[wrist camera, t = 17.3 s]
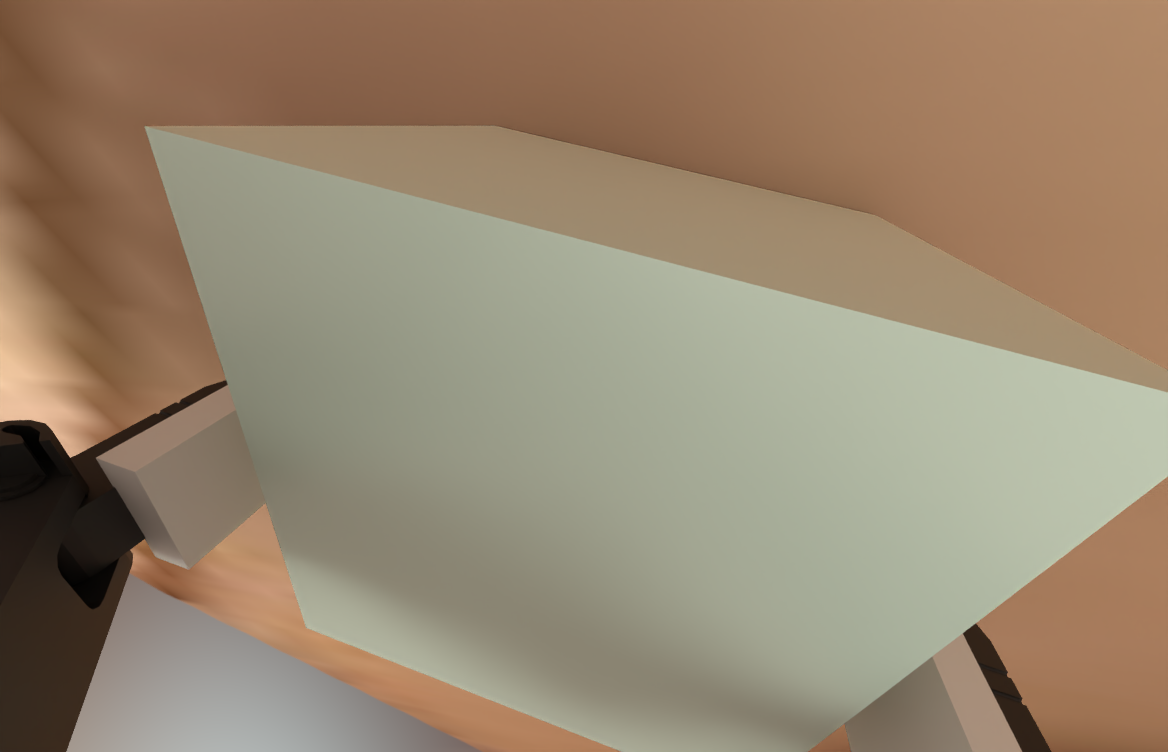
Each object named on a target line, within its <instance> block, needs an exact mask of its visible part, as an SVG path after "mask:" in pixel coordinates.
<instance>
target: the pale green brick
mask: <svg viewBox="0 0 1168 752" xmlns="http://www.w3.org/2000/svg"><path fill="white" fill-rule="evenodd" d="M144 127H145V130H146V133H147V136H148V139H149V142H150V145H151V148H152V151H153V154H154V158H155V161H156V164H157V167H158V170H159V173H160V176H161V179H162V182H163V185H164V189H165V192H166V195H167V198H168V201H169V204H170V207H171V210H172V213H173V216H174V220H175V223H176V226H177V229H178V232H179V235H180V238H181V241H182V244H183V247H184V251H185V254H186V257H187V260H188V263H189V266H190V269H191V272H192V275H193V278H194V282H195V285H196V288H197V291H198V294H199V297H200V300H201V303H202V306H203V309H204V313H205V316H206V319H207V322H208V325H209V328H210V331H211V334H212V337H213V340H214V344H215V347H216V350H217V353H218V356H219V359H220V362H221V365H222V368H223V371H224V375H225V378H226V381H227V384H228V387H229V390H230V393H231V396H232V399H233V402H234V406H235V409H236V412H237V415H238V418H239V421H240V424H241V427H242V430H243V433H244V437H245V440H246V443H247V446H248V449H249V452H250V455H251V458H252V461H253V464H254V468H255V471H256V474H257V477H258V480H259V483H260V486H261V489H262V492H263V495H264V499H265V502H266V505H267V508H268V511H269V514H270V517H271V520H272V523H273V526H274V530H275V533H276V536H277V539H278V542H279V545H280V548H281V551H282V554H283V557H284V561H285V564H286V567H287V570H288V573H289V576H290V579H291V582H292V585H293V588H294V592H295V595H296V598H297V601H298V604H299V607H300V610H301V613H302V616H303V619H304V623H305V626H306V628H308V629H311V630H313V631H316V632H318V633H321V634H323V635H326V636H328V637H331V638H333V639H336V640H339V641H341V642H344V643H346V644H349V645H351V646H354V647H356V648H359V649H361V650H364V651H367V652H369V653H372V654H374V655H377V656H379V657H382V658H384V659H387V660H390V661H392V662H395V663H397V664H400V665H402V666H405V667H407V668H410V669H412V670H415V671H418V672H420V673H423V674H425V675H428V676H430V677H433V678H435V679H438V680H440V681H443V682H446V683H448V684H451V685H453V686H456V687H458V688H461V689H463V690H466V691H469V692H471V693H474V694H476V695H479V696H481V697H484V698H486V699H489V700H491V701H494V702H497V703H499V704H502V705H504V706H507V707H509V708H512V709H514V710H517V711H519V712H522V713H525V714H527V715H530V716H532V717H535V718H537V719H540V720H542V721H545V722H548V723H550V724H553V725H555V726H558V727H560V728H563V729H565V730H568V731H570V732H573V733H576V734H578V735H581V736H583V737H586V738H588V739H591V740H593V741H596V742H598V743H601V744H604V745H606V746H609V747H611V748H614V749H616V750H619V751H621V752H808V751H809V750H811V749H812V748H813V747H815V746H816V745H817V744H818V743H820V742H821V741H822V740H824V739H825V738H826V737H828V736H829V735H830V734H832V733H833V732H834V731H835V730H837V729H838V728H839V727H841V726H842V725H843V724H845V723H846V722H847V721H849V720H850V719H851V718H852V717H854V716H855V715H856V714H858V713H859V712H860V711H862V710H863V709H864V708H866V707H867V706H868V705H869V704H871V703H872V702H873V701H875V700H876V699H877V698H879V697H880V696H881V695H883V694H884V693H885V692H886V691H888V690H889V689H890V688H892V687H893V686H894V685H896V684H897V683H898V682H900V681H901V680H902V679H903V678H905V677H906V676H907V675H909V674H910V673H911V672H913V671H914V670H915V669H917V668H918V667H919V666H920V665H922V664H923V663H924V662H926V661H927V660H928V659H930V658H931V657H932V656H934V655H935V654H936V653H937V652H939V651H940V650H941V649H943V648H944V647H945V646H947V645H948V644H949V643H951V642H952V641H953V640H954V639H956V638H957V637H958V636H960V635H961V634H962V633H964V632H965V631H966V630H968V629H969V628H970V627H971V626H973V625H974V624H975V623H977V622H978V621H979V620H981V619H982V618H983V617H985V616H986V615H987V614H988V613H990V612H991V611H992V610H994V609H995V608H996V607H998V606H999V605H1000V604H1002V603H1003V602H1004V601H1005V600H1007V599H1008V598H1009V597H1011V596H1012V595H1013V594H1015V593H1016V592H1017V591H1019V590H1020V589H1021V588H1022V587H1024V586H1025V585H1026V584H1028V583H1029V582H1030V581H1032V580H1033V579H1034V578H1036V577H1037V576H1038V575H1039V574H1041V573H1042V572H1043V571H1045V570H1046V569H1047V568H1049V567H1050V566H1051V565H1053V564H1054V563H1055V562H1056V561H1058V560H1059V559H1060V558H1062V557H1063V556H1064V555H1066V554H1067V553H1068V552H1070V551H1071V550H1072V549H1073V548H1075V547H1076V546H1077V545H1079V544H1080V543H1081V542H1083V541H1084V540H1085V539H1087V538H1088V537H1089V536H1090V535H1092V534H1093V533H1094V532H1096V531H1097V530H1098V529H1100V528H1101V527H1102V526H1104V525H1105V524H1106V523H1107V522H1109V521H1110V520H1111V519H1113V518H1114V517H1115V516H1117V515H1118V514H1119V513H1121V512H1122V511H1123V510H1124V509H1126V508H1127V507H1128V506H1130V505H1131V504H1132V503H1134V502H1135V501H1136V500H1138V499H1139V498H1140V497H1141V496H1143V495H1144V494H1145V493H1147V492H1148V491H1149V490H1151V489H1152V488H1153V487H1155V486H1156V485H1157V484H1159V483H1160V482H1161V481H1162V480H1164V479H1165V478H1166V477H1168V370H1166V369H1165V368H1163V367H1161V366H1159V365H1157V364H1155V363H1153V362H1151V361H1149V360H1148V359H1146V358H1144V357H1142V356H1140V355H1138V354H1136V353H1134V352H1133V351H1131V350H1129V349H1127V348H1125V347H1123V346H1121V345H1119V344H1117V343H1116V342H1114V341H1112V340H1110V339H1108V338H1106V337H1104V336H1102V335H1101V334H1099V333H1097V332H1095V331H1093V330H1091V329H1089V328H1087V327H1085V326H1084V325H1082V324H1080V323H1078V322H1076V321H1074V320H1072V319H1070V318H1068V317H1067V316H1065V315H1063V314H1061V313H1059V312H1057V311H1055V310H1053V309H1052V308H1050V307H1048V306H1046V305H1044V304H1042V303H1040V302H1038V301H1036V300H1035V299H1033V298H1031V297H1029V296H1027V295H1025V294H1023V293H1021V292H1020V291H1018V290H1016V289H1014V288H1012V287H1010V286H1008V285H1006V284H1004V283H1003V282H1001V281H999V280H997V279H995V278H993V277H991V276H989V275H988V274H986V273H984V272H982V271H980V270H978V269H976V268H974V267H972V266H971V265H969V264H967V263H965V262H963V261H961V260H959V259H957V258H955V257H954V256H952V255H950V254H948V253H946V252H944V251H942V250H940V249H939V248H937V247H935V246H933V245H931V244H929V243H927V242H925V241H923V240H922V239H920V238H918V237H916V236H914V235H912V234H910V233H908V232H907V231H905V230H903V229H901V228H899V227H897V226H895V225H893V224H891V223H890V222H888V221H886V220H884V219H882V218H880V217H878V216H876V215H873V214H869V213H865V212H860V211H856V210H852V209H848V208H843V207H839V206H835V205H831V204H826V203H822V202H818V201H814V200H809V199H805V198H801V197H797V196H792V195H788V194H784V193H780V192H775V191H771V190H767V189H763V188H758V187H754V186H750V185H746V184H741V183H737V182H733V181H729V180H724V179H720V178H716V177H712V176H707V175H703V174H699V173H695V172H690V171H686V170H682V169H678V168H673V167H669V166H665V165H661V164H656V163H652V162H648V161H644V160H639V159H635V158H631V157H627V156H622V155H618V154H614V153H610V152H605V151H601V150H597V149H593V148H588V147H584V146H580V145H576V144H571V143H567V142H563V141H559V140H554V139H550V138H546V137H542V136H537V135H533V134H529V133H525V132H520V131H516V130H512V129H508V128H503V127H499V126H144Z"/></svg>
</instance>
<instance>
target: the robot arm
mask: <svg viewBox="0 0 1168 752" xmlns="http://www.w3.org/2000/svg"><path fill="white" fill-rule="evenodd" d="M265 503H266V502H265V499H264V495H263V492H262V489H261V486H260V483H259V480H258V477H257V474H256V471H255V468H254V464H253V461H252V458H251V455H250V452H249V449H248V446H247V443H246V440H245V437H244V433H243V430H242V427H241V424H240V421H239V418H238V415H237V412H236V409H235V406H234V402H233V399H232V396H231V393H230V390H229V387H228V384H227V381H223V382H219V383H216V384H213V385H210V386H206V387H204V388H202V389H200V390H198V391H196V392H194V393H193V394H191V395H189V396H187V397H185V398H183V399H181V401H180V403H174V404H172V405H170V406H168V407H166V408H164V409H162V410H161V411H160V413H159V414H153V415H151V416H149V417H147V418H146V419H144V420H142V421H140V422H138V423H136V424H134V425H132V426H131V427H129V428H127V429H125V430H123V431H121V432H119V433H117V434H115V435H114V436H112V437H110V438H108V439H106V440H104V441H102V442H100V443H99V444H97V445H95V446H93V447H91V448H89V449H87V450H85V451H83V452H82V453H80V454H78V455H76V456H73V457H71V458H70V457H69V456H68V454H67V453H66V451H65V450H64V448H63V447H62V445H61V443H60V442H59V440H58V439H57V437H56V436H55V434H54V433H53V431H52V430H51V429H50V428H49V427H48V426H47V425H46V424H45V423H41V422H36V421H32V420H16V421H5V422H0V752H66V751H67V748H68V745H69V742H70V739H71V736H72V734H73V731H74V728H75V725H76V722H77V719H78V717H79V714H80V711H81V708H82V705H83V703H84V700H85V697H86V694H87V691H88V688H89V686H90V683H91V680H92V677H93V674H94V671H95V668H96V666H97V663H98V660H99V657H100V654H101V651H102V649H103V646H104V643H105V640H106V637H107V634H108V631H109V629H110V626H111V623H112V620H113V617H114V615H115V612H116V609H117V606H118V603H119V600H120V598H121V595H122V592H123V589H124V586H125V583H126V580H127V578H128V575H129V572H130V569H131V566H132V561H133V554H132V552H131V551H130V549H132V548H133V547H134V546H136V545H137V544H138V543H140V542H141V541H142V540H144V539H145V540H146V542H147V543H148V545H149V547H150V548H151V550H152V551H153V553H154V555H155V556H156V557H157V558H160V559H162V560H165V561H167V562H170V563H173V564H175V565H178V566H181V567H183V568H186V569H190V568H191V567H192V566H194V565H195V564H196V563H197V562H198V561H199V560H201V559H202V558H203V557H204V556H205V555H206V554H207V553H209V552H210V551H211V550H212V549H213V548H214V547H215V546H217V545H218V544H219V543H220V542H221V541H222V540H224V539H225V538H226V537H227V536H228V535H229V534H230V533H232V532H233V531H234V530H235V529H236V528H237V527H238V526H240V525H241V524H242V523H243V522H244V521H245V520H247V519H248V518H249V517H250V516H251V515H252V514H253V513H255V512H256V511H257V510H258V509H259V508H260V507H261V506H263V505H264V504H265ZM1007 673H1008V672H1007V670H1006V668H1005V666H1004V665H1003V663H1002V661H1001V659H1000V657H999V655H998V654H997V652H996V650H995V648H994V646H993V645H992V643H991V641H990V640H989V639H988V637H987V636H986V635H985V634H984V633H983V632H982V630H981V629H980V628H979V627H978V626H977V624H976V623H975V624H974V625H973V626H971V627H970V628H969V629H968V630H966V631H965V632H964V633H962V634H961V635H960V636H958V637H957V638H956V639H954V640H953V641H952V642H951V643H949V644H948V645H947V646H945V647H944V648H943V649H941V650H940V651H939V652H937V653H936V654H935V655H934V656H932V657H931V658H930V659H928V660H927V661H926V662H924V663H923V664H922V665H920V666H919V667H918V668H917V669H915V670H914V671H913V672H911V673H910V674H909V675H907V676H906V677H905V678H903V679H902V680H901V681H900V682H898V683H897V684H896V685H894V686H893V687H892V688H890V689H889V690H888V691H886V692H885V693H884V694H883V695H881V696H880V697H879V698H877V699H876V700H875V701H873V702H872V703H871V704H869V705H868V706H867V707H866V708H864V709H863V710H862V711H860V712H859V713H858V714H856V715H855V716H854V717H852V718H851V719H850V720H849V721H847V722H846V723H845V728H846V732H847V736H848V741H849V745H850V749H851V752H1051V750H1050V748H1049V746H1048V745H1047V743H1046V741H1045V739H1044V737H1043V736H1042V734H1041V732H1040V730H1039V728H1038V726H1037V725H1036V723H1035V721H1034V719H1033V717H1032V715H1031V714H1030V712H1029V710H1028V708H1027V706H1025V705H1023V704H1022V702H1021V700H1022V697H1021V695H1020V694H1019V692H1018V690H1017V688H1016V686H1015V685H1014V683H1013V681H1012V679H1011V678H1008V677H1007Z"/></svg>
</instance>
